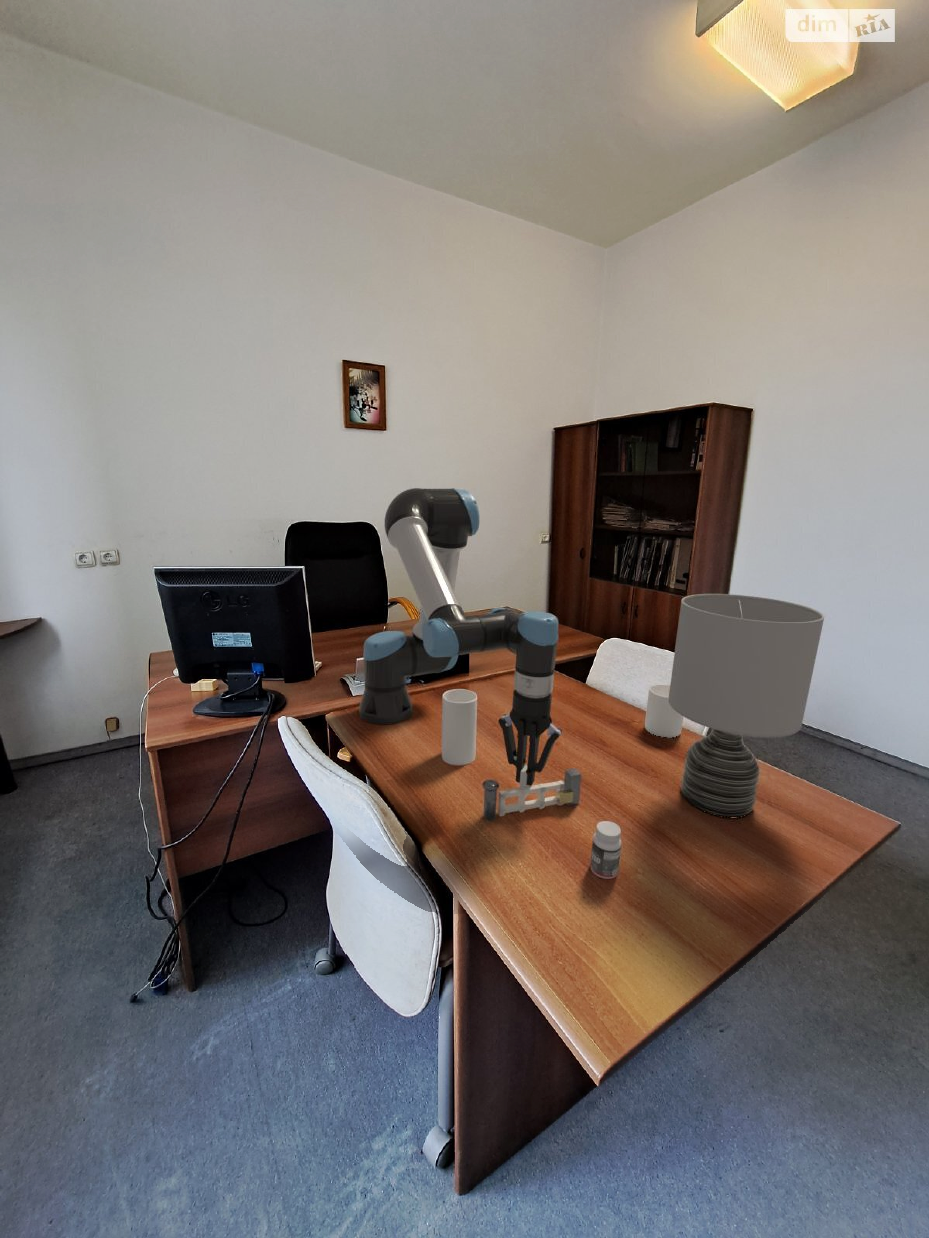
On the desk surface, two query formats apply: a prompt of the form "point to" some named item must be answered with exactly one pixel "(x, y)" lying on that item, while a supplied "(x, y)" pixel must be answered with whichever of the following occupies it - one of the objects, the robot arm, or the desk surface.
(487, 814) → the hinge post
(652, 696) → the mug
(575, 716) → the desk surface
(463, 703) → the cup
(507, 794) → the gate
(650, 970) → the desk surface
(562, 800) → the grey upright block
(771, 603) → the lamp
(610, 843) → the pill bottle
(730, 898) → the desk surface
